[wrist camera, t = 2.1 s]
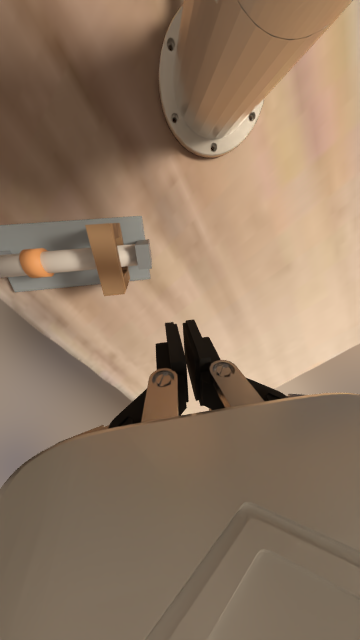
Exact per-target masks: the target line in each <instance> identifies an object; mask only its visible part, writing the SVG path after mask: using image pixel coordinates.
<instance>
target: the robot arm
mask: <svg viewBox="0 0 360 640" xmlns="http://www.w3.org/2000/svg"><path fill="white" fill-rule="evenodd" d="M352 1H353V0H184V3H183V5H182V6H181V7H180V8H179V10H178V11H177V13H176V14H175V16H174V17H173V19H172V21H171V23H170V25H169V27H168V30H167V32H166V34H165V38H164V42H163V45H162V49H161V55H160V64H159V92H160V100H161V104H162V109H163V112H164V115H165V118H166V121H167V123H168V125H169V127H170V129H171V131H172V133H173V135H174V136H175V137H176V138H177V140H178V141H179V142H180V144H182V145H183V146H184V147H185V148H186V149H187V150H189V151H190V152H192V153H194V154H196V155H198V156H202V157H211V158H214V157H219V156H223V155H225V154H227V153H229V152H231V151H232V150H233V149H235V148H236V147H237V146H238V145H240V144H241V143H242V142H243V141H244V140H245V139H246V137H247V136H248V134H249V133H250V132H251V130H252V129H253V127H254V125H255V124H256V122H257V120H258V117H259V115H260V112H261V109H262V106H263V103H264V98H265V97H266V96H267V95H268V94H269V93H270V91H271V90H272V89H273V88H274V87H275V86H276V85H277V84H278V83H279V82H280V81H281V79H282V78H283V77H284V76H285V75H286V74H287V73H288V72H289V71H290V70H291V68H292V67H293V66H294V65H295V64H296V63H297V62H298V61H299V60H300V59H301V58H302V56H303V55H304V54H305V53H306V52H307V51H308V50H309V49H310V48H311V47H312V46H313V44H314V43H315V42H316V41H317V40H318V39H319V38H320V37H321V36H322V35H323V33H324V32H325V31H326V30H327V29H328V28H329V27H330V26H331V25H332V24H333V23H334V21H335V20H336V19H337V18H338V17H339V16H340V15H341V14H342V13H343V12H344V10H345V9H346V8H347V7H348V6H349V4H350V3H351V2H352ZM169 48H171V49H172V51H170V50H169ZM249 118H250V120H249ZM173 119H175V120H176V123H173V122H172V120H173ZM211 147H212V148H213V152H212V151H211ZM165 327H166V336H167V342H165V343H158V344H156V363H157V370H156V371H154V372H153V373H152V374H151V375H150V377H149V381H148V387H147V389H146V390H145V391H144V392H143V393H142V394H140V395H139V396H138V397H137V398H136V399H135V400H134V401H133V402H132V403H131V404H130V405H128V406H127V407H126V408H125V409H124V410H123V411H122V412H121V413H120V414H119V415H118V416H116V418H114V420H113V421H112V422H111V423H110V425H108V426H105V427H104V425H101V426H99V427H96V428H94V429H91V430H89V431H86V432H84V433H81V434H79V435H76V436H73V437H71V438H69V439H66V440H63V441H61V442H59V443H57V444H55V445H53V446H51V447H50V448H48V449H46V450H44V451H42V452H40V453H39V454H37V455H35V456H34V457H32V458H31V459H29V460H28V461H26V462H25V463H24V464H22V465H21V466H20V467H19V468H18V469H17V470H16V471H15V472H14V473H13V474H12V475H11V476H10V477H9V478H8V479H7V481H6V482H5V483H4V484H3V486H2V487H1V489H0V640H360V394H352V393H323V394H312V395H300V394H288V396H285V395H284V394H283V393H281V392H279V391H277V390H274V389H272V388H270V387H267V386H265V385H262V384H260V383H258V382H255V381H253V380H250V379H248V378H245V376H244V375H243V374H242V373H241V371H240V370H239V369H238V368H237V366H236V365H235V364H233V363H232V362H230V361H226V360H220V358H219V356H218V354H217V352H216V350H215V348H214V346H213V344H212V342H211V340H210V338H209V337H204V338H202V336H201V334H200V332H199V330H198V327H197V325H196V323H195V321H194V320H187V321H186V323H183V335H184V350H185V355H184V351H183V347H182V343H181V339H180V335H179V331H178V327H177V324H174V323H173V322H171V323H165ZM186 364H187V367H186ZM187 368H188V372H189V376H190V380H191V384H192V388H193V392H194V396H195V399H196V401H197V400H199V402H200V406H206V407H208V408H209V411H205V412H199V413H193V414H187V415H182V416H181V414H182V413H183V411H184V410H185V409H186V408H187V407H186V402H188V384H187Z"/></svg>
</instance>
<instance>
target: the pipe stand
mask: <svg viewBox="0 0 360 640" xmlns="http://www.w3.org/2000/svg"><path fill="white" fill-rule="evenodd" d="M105 223H120V227H121V232H122V237H123V243H124V245H119V246H117V248H118V253H119V258H120V263H121V267H125V266H128V269H129V274H130V280H129V281H135V280H145V279H150V271H149V269H151V268H152V259H151V251H150V243H149V240H145V235H144V228H143V220H142V216H132V217H117V218H102V219H87V220H72V221H57V222H42V223H27V224H12V225H0V278H4V277H8V279H9V281H10V283H11V285H12V287H13V289H14V291H15V292H23V291H33V290H43V289H53V288H63V287H74V286H84V285H94V284H101V283H100V279H99V275H98V271H97V268H96V264H95V260H94V256H93V253H92V249H91V245H90V242H89V238H88V234H87V230H86V227H85V225H91V224H105Z"/></svg>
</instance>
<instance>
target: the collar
mask: <svg viewBox="0 0 360 640" xmlns="http://www.w3.org/2000/svg"><path fill="white" fill-rule="evenodd" d="M85 227H86V230H87V234H88V238H89V242H90V245H91V249H92V253H93V256H94V260H95V264H96V268H97V271H98V275H99V279H100V283H101V286H102V290H103V294H104V296H110V295H119V294H125V291H126V289H127V286H128V283H129V280H130V274H129V269H128V266H125V267H121V263H120V258H119V253H118V248H117V246H119V245H124V243H123V237H122V232H121V227H120V223H105V224H91V225H85Z"/></svg>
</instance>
